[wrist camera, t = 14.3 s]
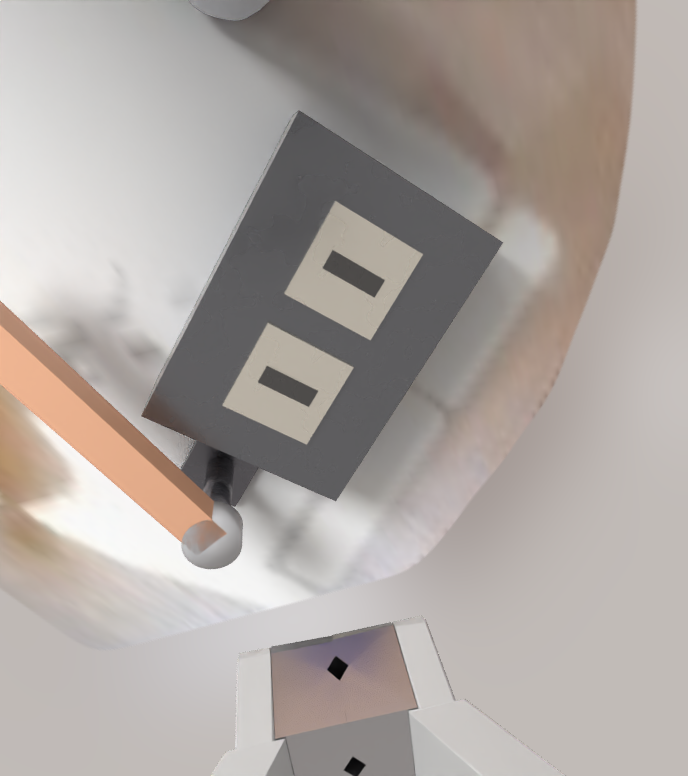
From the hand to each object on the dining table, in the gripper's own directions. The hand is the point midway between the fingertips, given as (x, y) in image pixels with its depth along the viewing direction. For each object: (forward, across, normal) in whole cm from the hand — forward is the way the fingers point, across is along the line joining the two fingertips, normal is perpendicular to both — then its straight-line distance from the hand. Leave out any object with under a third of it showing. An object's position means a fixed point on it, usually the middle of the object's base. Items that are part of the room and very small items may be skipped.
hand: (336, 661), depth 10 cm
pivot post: (+34, +6, +15) cm, 37 cm away
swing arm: (+26, +12, +5) cm, 29 cm away
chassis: (+34, -2, +4) cm, 34 cm away
